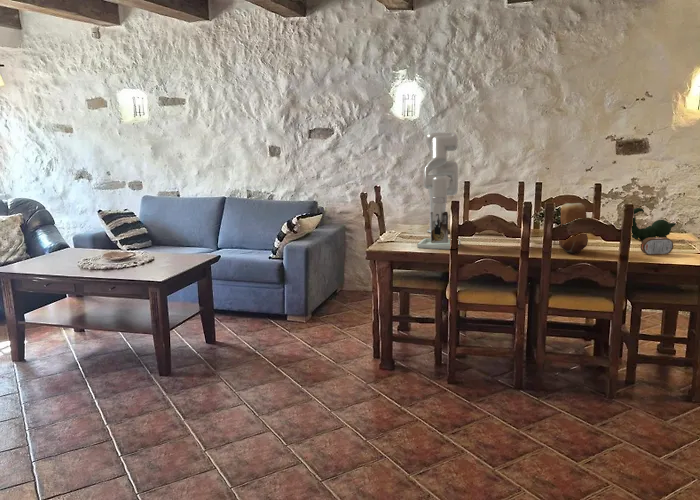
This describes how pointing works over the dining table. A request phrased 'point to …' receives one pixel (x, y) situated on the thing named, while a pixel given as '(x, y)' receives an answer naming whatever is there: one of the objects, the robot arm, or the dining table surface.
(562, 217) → the butternut squash
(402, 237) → the dining table surface
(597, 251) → the dining table surface
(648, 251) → the tin
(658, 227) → the toy figurine
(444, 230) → the coffee box
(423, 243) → the tray
